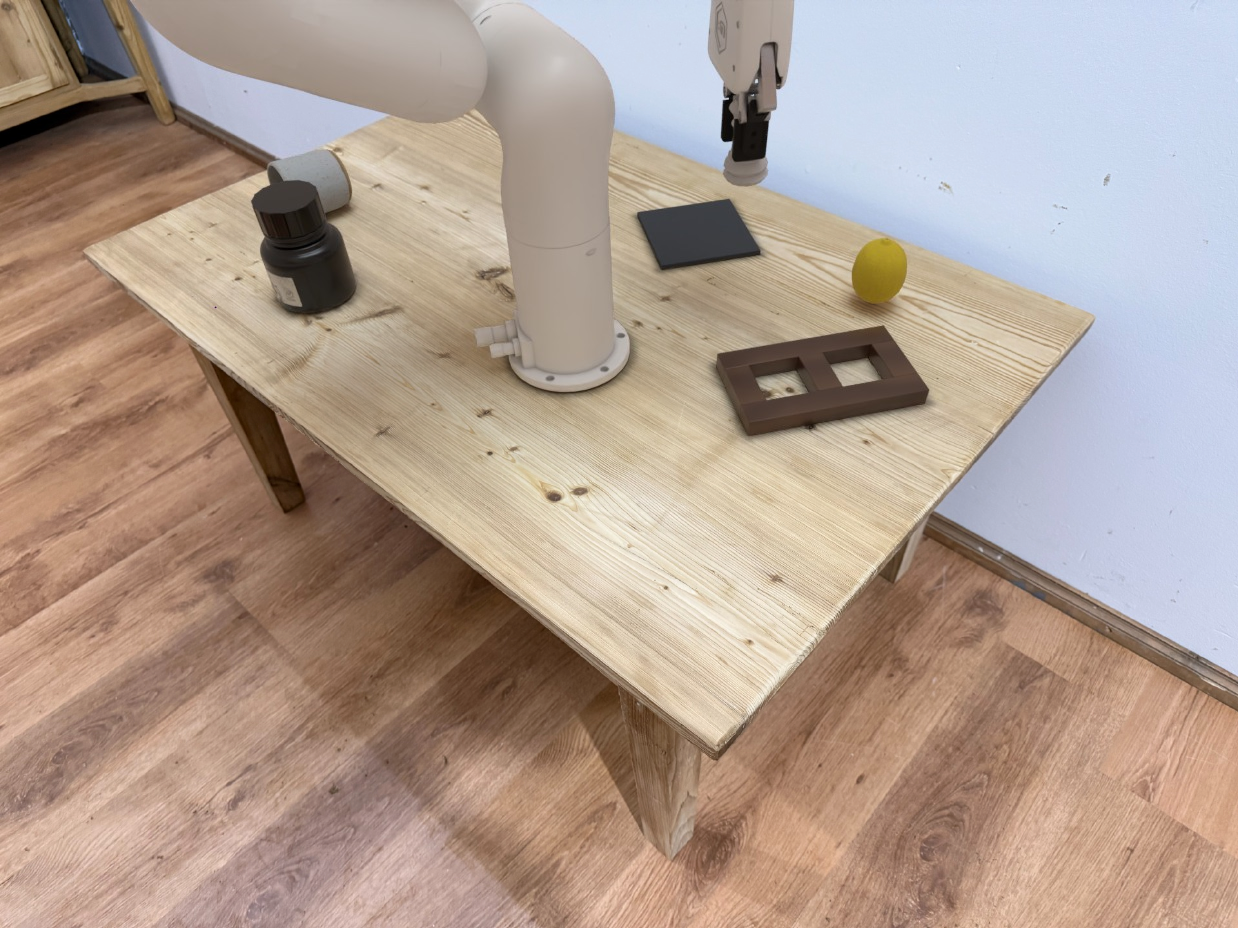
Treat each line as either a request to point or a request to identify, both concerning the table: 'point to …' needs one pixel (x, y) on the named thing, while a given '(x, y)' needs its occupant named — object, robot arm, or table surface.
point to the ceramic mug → (316, 175)
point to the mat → (697, 234)
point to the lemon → (879, 270)
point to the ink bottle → (302, 248)
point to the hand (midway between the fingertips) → (742, 147)
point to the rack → (819, 380)
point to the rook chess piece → (745, 170)
